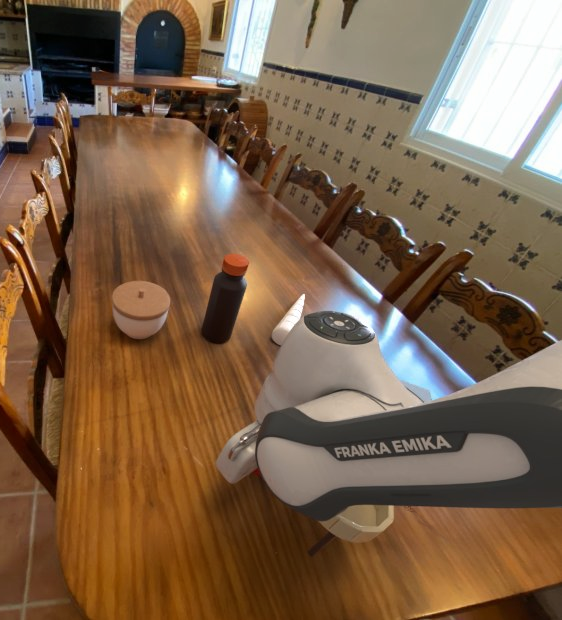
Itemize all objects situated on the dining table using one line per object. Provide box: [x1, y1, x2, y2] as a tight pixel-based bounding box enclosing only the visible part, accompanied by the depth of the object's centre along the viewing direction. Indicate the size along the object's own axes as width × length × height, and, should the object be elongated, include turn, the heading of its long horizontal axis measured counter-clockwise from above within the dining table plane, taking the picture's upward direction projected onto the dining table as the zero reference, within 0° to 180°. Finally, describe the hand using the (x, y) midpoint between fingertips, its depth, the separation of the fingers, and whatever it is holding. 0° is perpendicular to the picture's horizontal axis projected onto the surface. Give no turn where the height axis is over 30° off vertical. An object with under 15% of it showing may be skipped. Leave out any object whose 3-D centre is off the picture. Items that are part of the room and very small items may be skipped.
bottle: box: [201, 253, 250, 344], centre depth 76 cm, size 7×7×20 cm
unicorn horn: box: [271, 293, 306, 346], centre depth 87 cm, size 5×24×5 cm, turn 143°
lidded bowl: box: [111, 280, 171, 340], centre depth 79 cm, size 13×13×11 cm
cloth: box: [398, 378, 433, 402], centre depth 71 cm, size 10×10×1 cm
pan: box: [307, 505, 395, 558], centre depth 48 cm, size 16×9×12 cm, turn 91°
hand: (260, 459), depth 58 cm, fingers closed on tomato, 5 cm apart
